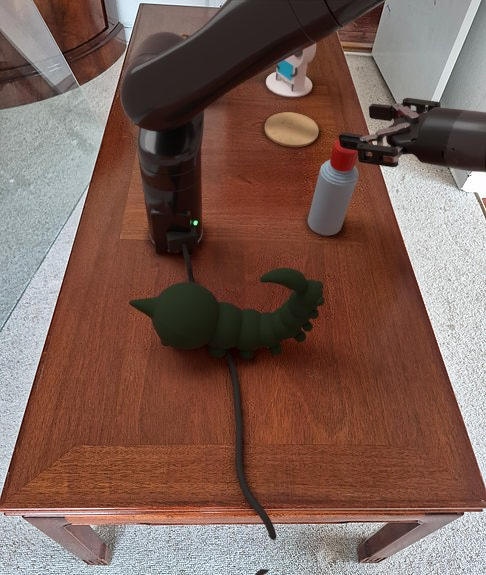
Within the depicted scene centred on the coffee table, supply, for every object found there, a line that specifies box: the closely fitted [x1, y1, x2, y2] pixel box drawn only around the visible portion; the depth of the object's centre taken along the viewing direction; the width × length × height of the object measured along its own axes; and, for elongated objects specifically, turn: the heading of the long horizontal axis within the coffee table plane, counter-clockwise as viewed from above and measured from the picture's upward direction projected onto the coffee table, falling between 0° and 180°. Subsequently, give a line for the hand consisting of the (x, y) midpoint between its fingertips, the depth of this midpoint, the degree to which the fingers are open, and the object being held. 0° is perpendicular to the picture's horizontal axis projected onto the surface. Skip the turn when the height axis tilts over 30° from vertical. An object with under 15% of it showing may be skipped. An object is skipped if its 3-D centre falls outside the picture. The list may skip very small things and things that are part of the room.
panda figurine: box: [265, 43, 317, 98], centre depth 107 cm, size 12×11×15 cm
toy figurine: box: [128, 267, 326, 361], centre depth 62 cm, size 9×19×25 cm
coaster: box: [264, 111, 320, 148], centre depth 102 cm, size 12×12×1 cm
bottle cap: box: [329, 138, 358, 172], centre depth 73 cm, size 4×4×4 cm
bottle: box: [307, 159, 360, 237], centre depth 79 cm, size 6×6×17 cm
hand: (355, 124), depth 72 cm, fingers open, 8 cm apart
